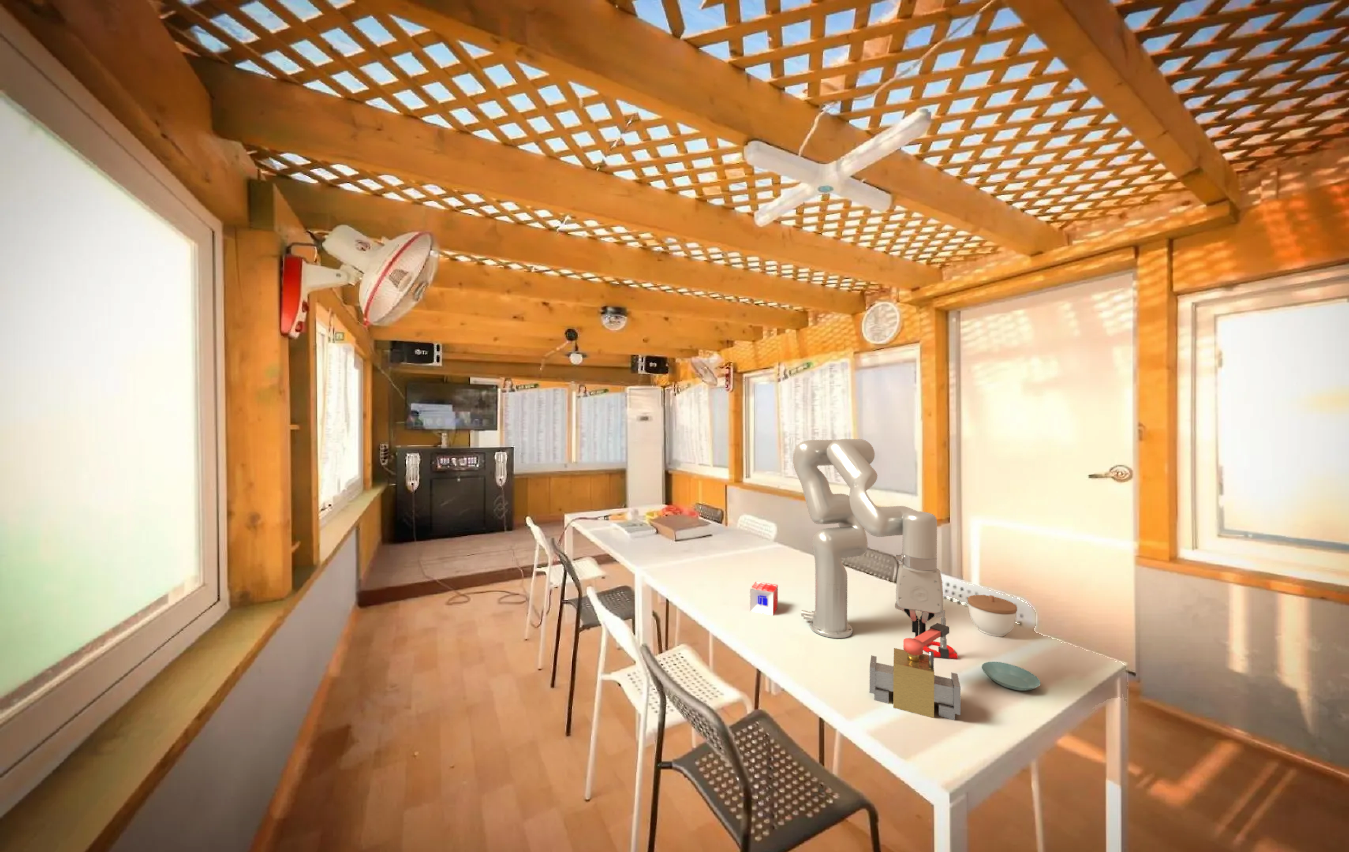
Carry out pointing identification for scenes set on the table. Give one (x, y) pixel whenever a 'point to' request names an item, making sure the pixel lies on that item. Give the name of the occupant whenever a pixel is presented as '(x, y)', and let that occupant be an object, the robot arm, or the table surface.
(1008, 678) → the saucer
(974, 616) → the lidded bowl
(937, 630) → the lever
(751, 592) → the white and red cube
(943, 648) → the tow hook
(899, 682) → the valve body
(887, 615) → the table surface
